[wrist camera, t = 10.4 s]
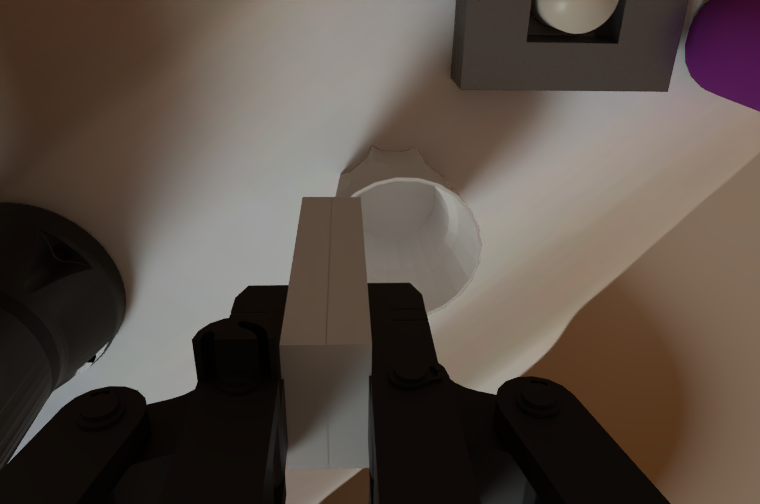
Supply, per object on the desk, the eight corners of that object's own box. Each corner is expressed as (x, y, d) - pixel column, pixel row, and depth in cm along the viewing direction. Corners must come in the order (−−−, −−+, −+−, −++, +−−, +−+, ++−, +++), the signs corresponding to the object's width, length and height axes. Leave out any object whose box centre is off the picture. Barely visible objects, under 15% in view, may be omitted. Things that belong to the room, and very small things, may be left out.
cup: (386, 275, 50) (396, 345, 41) (299, 193, 47) (289, 251, 38) (480, 197, 48) (512, 254, 39) (396, 104, 44) (409, 143, 35)
